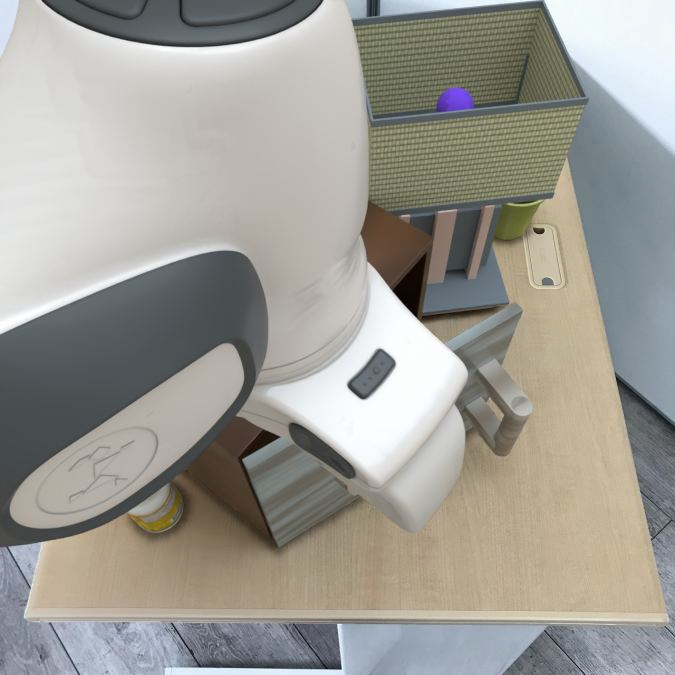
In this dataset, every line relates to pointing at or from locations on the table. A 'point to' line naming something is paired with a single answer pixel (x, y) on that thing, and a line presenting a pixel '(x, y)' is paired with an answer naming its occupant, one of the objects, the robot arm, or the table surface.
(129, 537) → the table surface
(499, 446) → the cupboard door
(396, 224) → the cupboard
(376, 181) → the desk lamp
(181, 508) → the supplement bottle
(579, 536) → the table surface
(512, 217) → the plant pot
